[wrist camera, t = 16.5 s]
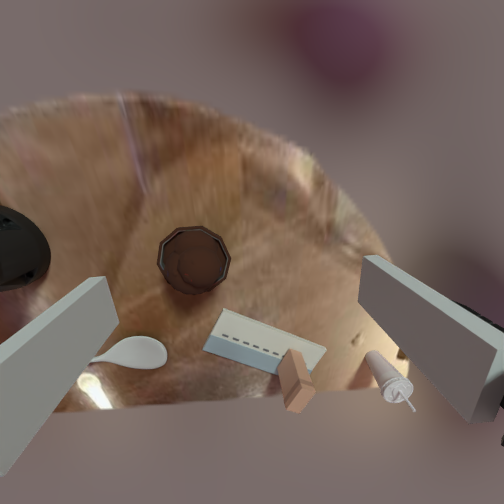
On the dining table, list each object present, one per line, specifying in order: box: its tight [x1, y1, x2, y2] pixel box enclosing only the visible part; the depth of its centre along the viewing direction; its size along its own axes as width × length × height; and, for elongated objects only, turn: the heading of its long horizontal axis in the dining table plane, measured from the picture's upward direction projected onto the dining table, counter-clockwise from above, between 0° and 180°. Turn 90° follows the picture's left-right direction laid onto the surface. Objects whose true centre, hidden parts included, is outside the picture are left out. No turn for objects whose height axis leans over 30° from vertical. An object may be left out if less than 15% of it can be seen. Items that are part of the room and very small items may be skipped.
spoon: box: [87, 336, 167, 369], centre depth 49 cm, size 9×32×3 cm, turn 89°
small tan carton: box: [277, 348, 316, 414], centre depth 48 cm, size 3×6×10 cm, turn 153°
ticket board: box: [203, 308, 326, 375], centre depth 53 cm, size 26×11×1 cm, turn 63°
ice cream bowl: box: [157, 226, 231, 295], centre depth 37 cm, size 11×11×15 cm
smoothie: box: [365, 350, 416, 412], centre depth 50 cm, size 6×6×14 cm
